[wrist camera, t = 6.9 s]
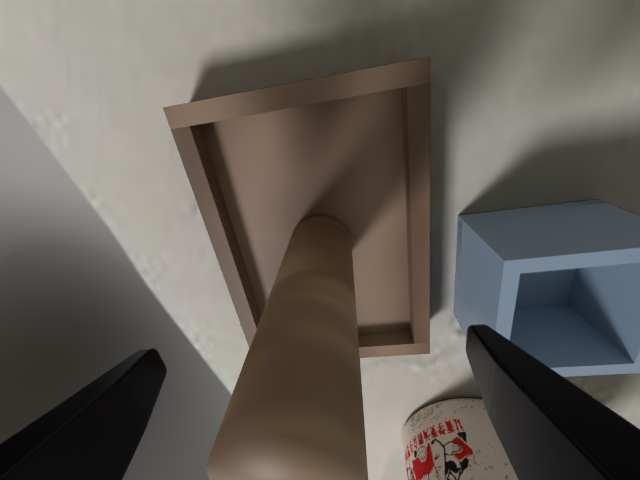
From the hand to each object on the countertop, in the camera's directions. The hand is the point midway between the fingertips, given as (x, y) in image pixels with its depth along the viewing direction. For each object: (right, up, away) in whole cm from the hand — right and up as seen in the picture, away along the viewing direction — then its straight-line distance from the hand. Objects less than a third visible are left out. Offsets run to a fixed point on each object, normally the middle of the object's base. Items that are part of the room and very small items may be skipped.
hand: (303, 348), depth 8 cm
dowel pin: (+1, +3, +6) cm, 7 cm away
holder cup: (+11, +2, +7) cm, 13 cm away
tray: (+1, +3, +7) cm, 8 cm away
